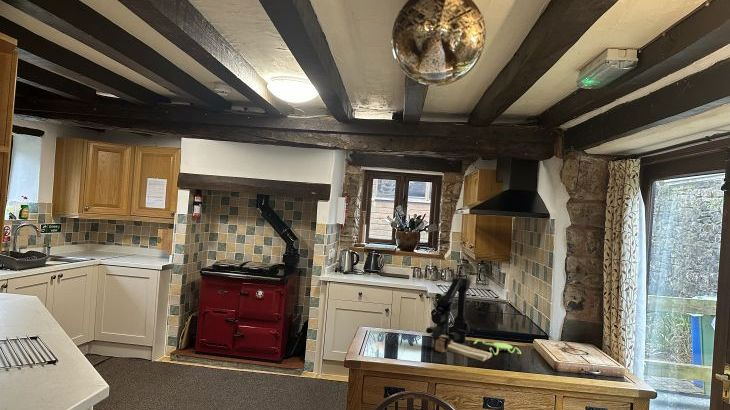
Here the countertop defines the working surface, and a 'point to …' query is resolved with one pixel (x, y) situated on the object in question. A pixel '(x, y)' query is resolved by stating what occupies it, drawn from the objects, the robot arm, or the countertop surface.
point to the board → (468, 351)
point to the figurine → (499, 347)
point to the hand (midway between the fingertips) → (441, 348)
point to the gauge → (441, 345)
